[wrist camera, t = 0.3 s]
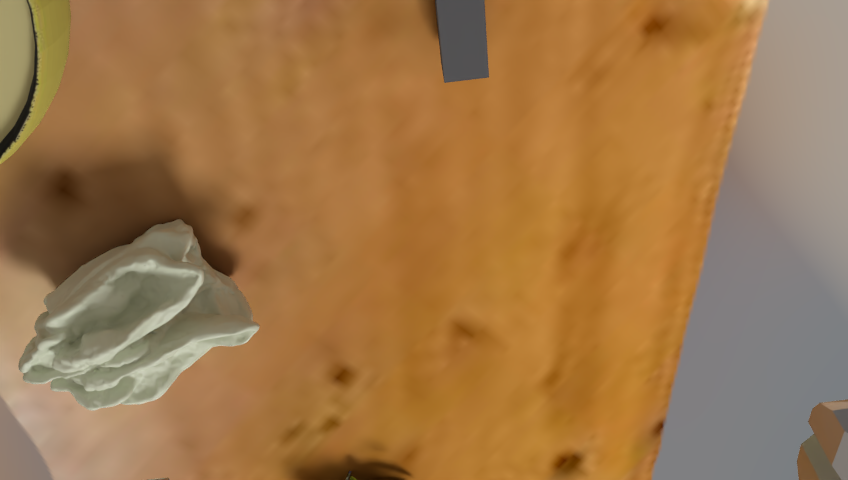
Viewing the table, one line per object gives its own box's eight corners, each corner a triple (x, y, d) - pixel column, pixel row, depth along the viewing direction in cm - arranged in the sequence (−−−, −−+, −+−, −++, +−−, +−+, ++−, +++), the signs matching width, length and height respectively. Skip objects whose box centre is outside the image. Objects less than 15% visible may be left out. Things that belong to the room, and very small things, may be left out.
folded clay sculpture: (193, 180, 70) (222, 225, 56) (244, 304, 75) (282, 373, 61) (-17, 258, 65) (-41, 329, 51) (53, 386, 70) (48, 480, 56)
